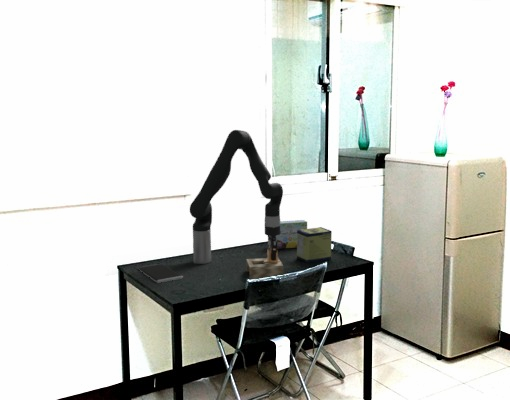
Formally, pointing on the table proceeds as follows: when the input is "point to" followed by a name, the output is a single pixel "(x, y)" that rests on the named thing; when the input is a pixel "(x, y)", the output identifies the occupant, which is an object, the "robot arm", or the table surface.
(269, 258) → the keyhole peg
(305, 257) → the protein box
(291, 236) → the snack box
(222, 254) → the table surface
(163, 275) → the smartphone
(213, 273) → the table surface
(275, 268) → the shelf
